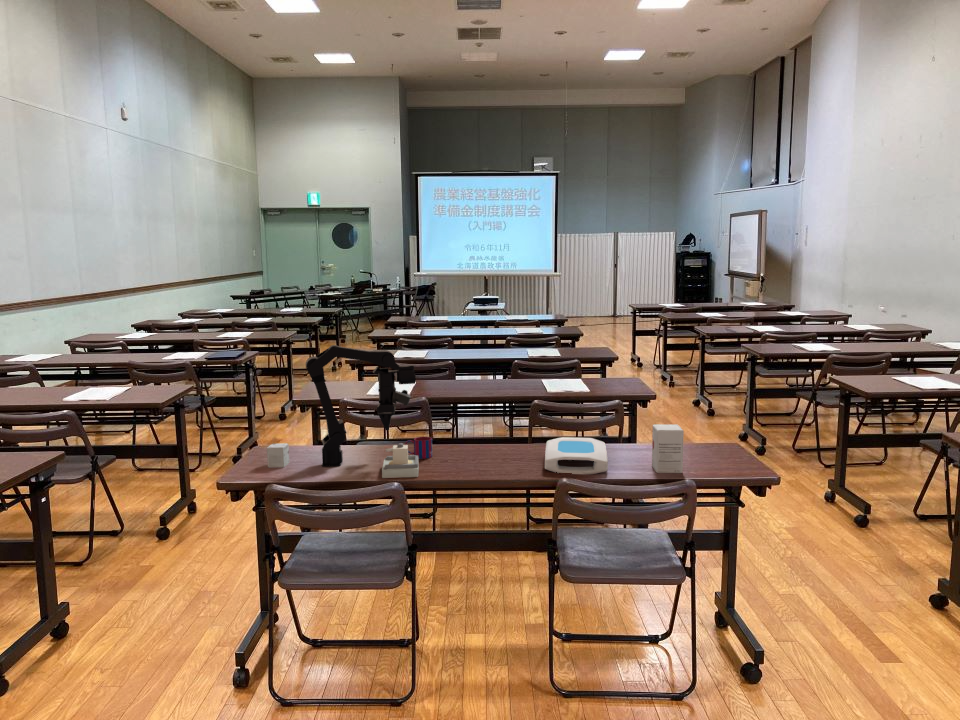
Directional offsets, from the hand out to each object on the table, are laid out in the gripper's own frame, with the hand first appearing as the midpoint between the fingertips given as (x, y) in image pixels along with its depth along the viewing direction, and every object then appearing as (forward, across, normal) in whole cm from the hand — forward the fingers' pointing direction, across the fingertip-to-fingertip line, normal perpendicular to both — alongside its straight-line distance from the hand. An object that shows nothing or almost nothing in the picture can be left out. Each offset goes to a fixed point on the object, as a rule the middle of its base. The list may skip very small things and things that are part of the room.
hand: (387, 427), depth 256 cm
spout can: (+9, -16, -4) cm, 19 cm away
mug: (+12, +3, -11) cm, 17 cm away
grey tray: (+12, -16, -5) cm, 21 cm away
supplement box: (+12, -24, -96) cm, 100 cm away
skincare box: (+12, -3, +39) cm, 41 cm away
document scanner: (+13, -12, -67) cm, 69 cm away
